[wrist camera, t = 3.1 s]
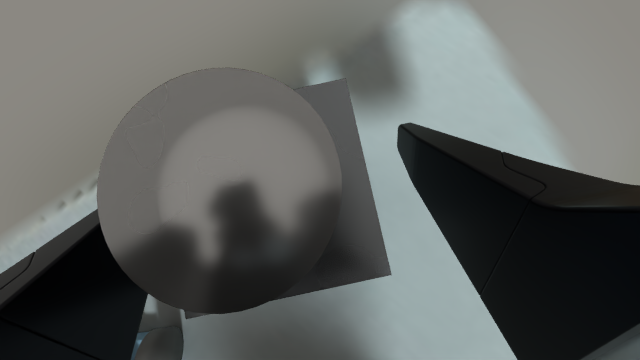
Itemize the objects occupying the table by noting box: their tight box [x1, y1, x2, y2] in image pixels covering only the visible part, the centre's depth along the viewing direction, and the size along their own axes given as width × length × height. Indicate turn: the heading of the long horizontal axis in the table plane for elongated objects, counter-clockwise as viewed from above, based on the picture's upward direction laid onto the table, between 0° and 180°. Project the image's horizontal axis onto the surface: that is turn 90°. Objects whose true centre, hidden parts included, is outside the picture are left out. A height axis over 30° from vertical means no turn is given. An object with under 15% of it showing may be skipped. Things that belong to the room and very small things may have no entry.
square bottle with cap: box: [97, 68, 391, 319], centre depth 10 cm, size 5×5×13 cm
